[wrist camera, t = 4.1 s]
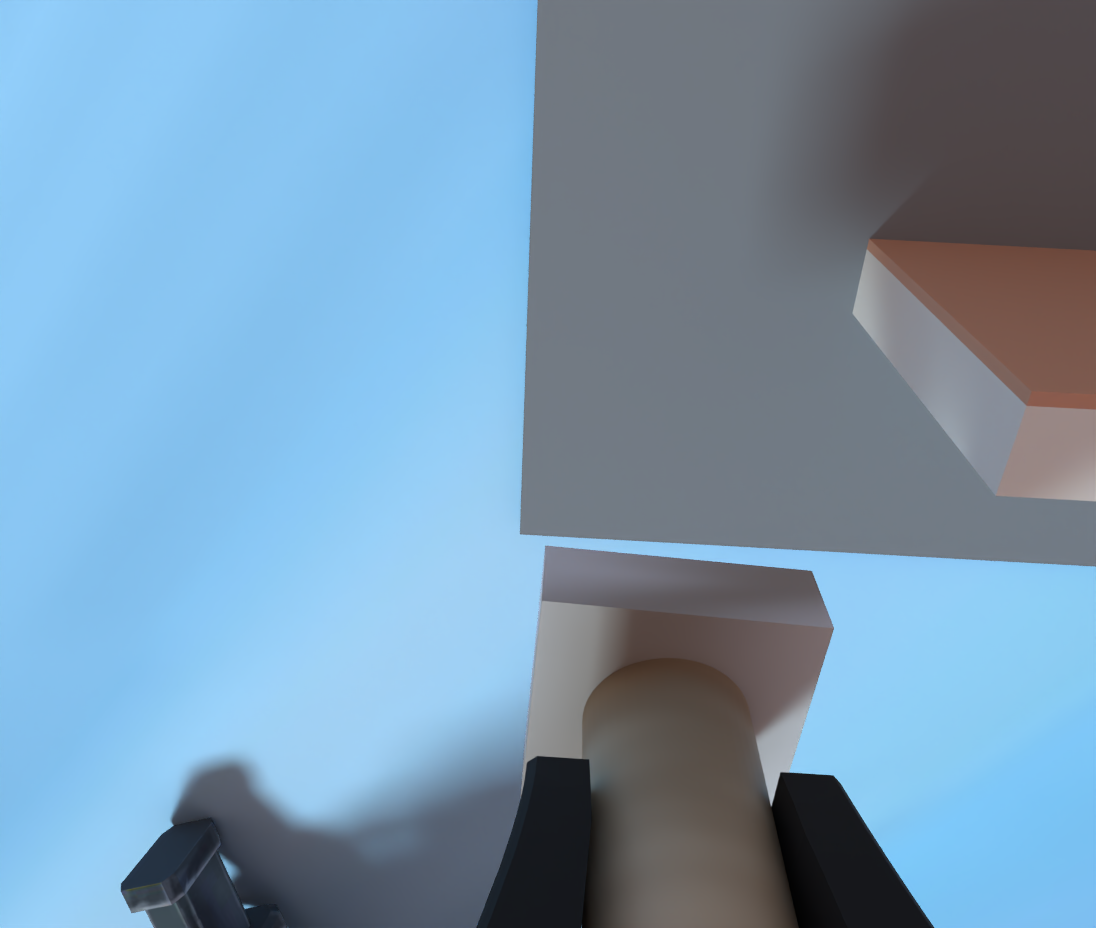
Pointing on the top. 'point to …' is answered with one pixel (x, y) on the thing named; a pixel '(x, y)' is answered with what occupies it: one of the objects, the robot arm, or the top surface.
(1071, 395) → the tile
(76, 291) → the top surface
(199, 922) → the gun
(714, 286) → the mat
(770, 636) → the tamper
